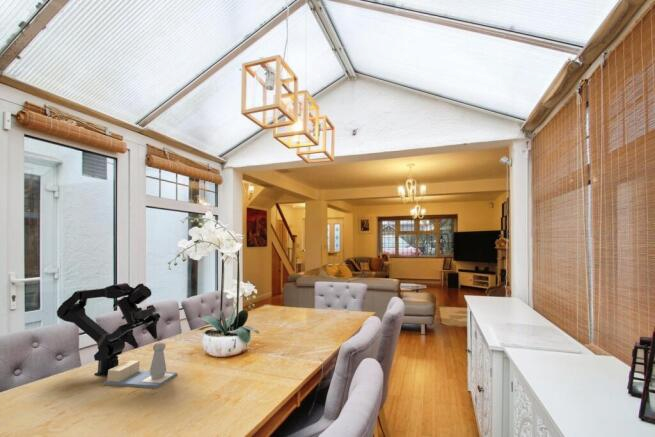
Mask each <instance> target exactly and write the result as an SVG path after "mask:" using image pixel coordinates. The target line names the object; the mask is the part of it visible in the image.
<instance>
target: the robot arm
mask: <svg viewBox="0 0 655 437" xmlns="http://www.w3.org/2000/svg"><path fill="white" fill-rule="evenodd" d="M151 296H152V289H151V288H149V287H148V286H146V285H144V283H138V284H137V285H136V286H135V287H132V286H130V285H129V283H127V282H123V283H117V284H116V283H115V284H112V285H109V286H106V287H102V288H92V289H80V290H76V291H74V292H73V293H72V295H71V296H69V298H68V299H65V300H64V301H63V302H62V303H61V304H60V305H59V307H57V308H58V309H57V310H56V315H57V318H59V319H60V320H62V321H63V322H68V323H72V324H74V325H76V327H78V328H79V329H80V330H81V331H82V332H84V333H85V334H87V335H88V337H90V338H91V339H92V340H93V341H94V342H96V344H97V351H96V353H95V354H94V355H93V358H94V361H95V362H96V361H98V362H97V364H98V365H97V372H95V373H94V376H105V377H108V370H109V369H111V368H114V367H116V366H118V365H119V355H122V353H123V352H124V351H123V350H124V349H125V348H126V343H127V344H129V345H130V346H131V347H133V348H135V349H138V348H139V344H138V342H137V340H136V338H135V336H134V329H136V328H140V327H142V326H145V329H146V330H147V332H148V333H149V334H150V336H151V337H152V338H153V339H154V340H157V339H158V332H157V330H158V329H157V326H158V325H157V324H158V322H160V319H161V318H162V317H161V314H160V313H158V312H156V308H155V306H154V305H153V304H150V305H148V306H146V308H144V309H143V308H142V307H138V305H140V304H142V303H143V302H144V301H145V300H147V299H149V298H150V297H151ZM95 298H96V299H97V298H106V299H112V300H114V299H117V300H115V301H114V303H113V305H112V308H117V307H118V308H119V310H120V312H121V314H122V317H121V319H122V320H125V321H126V323H125V324H121V325H119V326H118V327H117V328H116V329H114V330H113V331H112V333H109V332H107V331H106V329H104V328H102V326H100V325H99V324H98V323H96V321H94V319H92V318H91V317H89V316H88V314H86V308H85V307H86V306H87V304H88V299H95ZM119 298H120V299H119Z"/></svg>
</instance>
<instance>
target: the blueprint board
mask: <svg viewBox="0 0 655 437" xmlns="http://www.w3.org/2000/svg"><path fill="white" fill-rule="evenodd" d="M177 376H178V372H176V371H166V372H165V374H164V376H163V378H161V379H156V380H153V379H152V378H151V376H150V370H144V369H143V370H141V369H140V360H131V359H130V360H128V359H127V361H124V362H122V363H120V364H118V366H116V367H114V368H111V369H109V370H108V376H107V380H105V381H104V382H103V385H106V386H107V385H108V386H118V387H119V386H120V387H131V388H145V389H146V388H148V389H158V388H160V387H161V386H163V385H165V383H167V382H169V381H170V380H171V379H173V378H175V377H177Z"/></svg>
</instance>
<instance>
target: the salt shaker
mask: <svg viewBox="0 0 655 437" xmlns="http://www.w3.org/2000/svg"><path fill="white" fill-rule="evenodd" d="M165 349H166V343H165V342H157V343H154V344H153V346H152V350H153V351H154V353H153V355H152V356H153V357H152V360H151V365H150V367H149V368H150V369H149V371H150V376H151V378H152V379H153V380H156V379H161V378H163V376H164V374H165V372H167V365H166V359H165V351H164V350H165Z"/></svg>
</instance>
